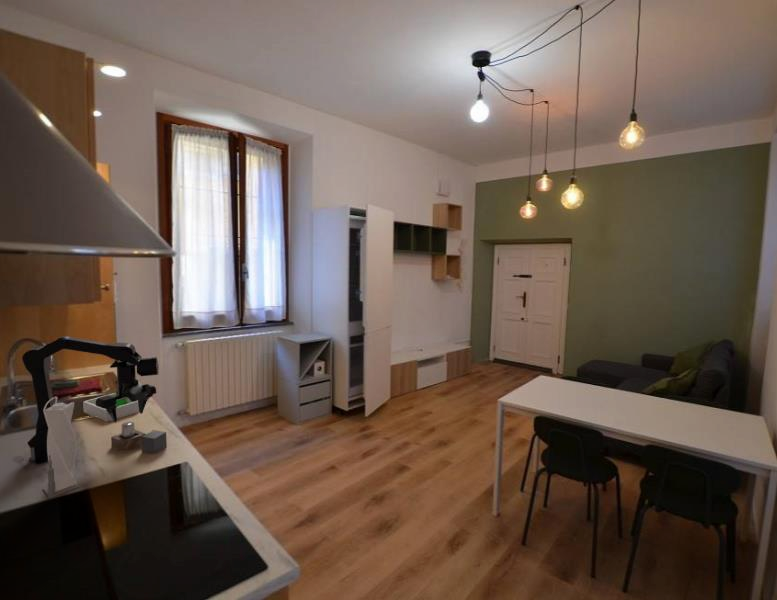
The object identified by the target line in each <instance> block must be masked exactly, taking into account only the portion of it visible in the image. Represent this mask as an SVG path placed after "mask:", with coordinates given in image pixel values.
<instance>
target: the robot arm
mask: <svg viewBox="0 0 777 600" xmlns="http://www.w3.org/2000/svg"><path fill="white" fill-rule="evenodd" d="M62 350H69V351H76V352H83V353H88V354H96V355H101V356H105V357H108V358H110V359H111V360H114V362H112V363H111V365H110V366H109V368H111V369H112V368H115V369H116V380H115V381H114V382H115V384H117V390H116V391H115V393H116V394H118V396H115V397H112V396H109V394H106V395H107V396H105V395H102V396H103V397H102V396H99V397H100V398H98V397H96V398H97V400H96V406H98V407H101V408H103V409H104V408H105V409H106V410H107V412H108V413H109V415H110V416H111V418H112V421H113V423H117V422H118V419H117V416H116V408H117V406H116V405H115V404H116V401H120V400H123V399H127V398H129V399H130V401H132V402H135V401H137V400H138V406H139V412H138V413H139V414H141V415H142V414H143V412H144V410H145V407H146V405H147V402H148V400H149V399H150V398H152V397H153V396H154V395H155V394H157V387H156V386H154V385H151V384H149V383H145V384H142V385H140V384H139V379H137V376H136V374H137V375H138V376H140V377H150V376H158V375H159V369H160V367H159V361H158V357H157V356H153V357H147V358H145V357H142V356H141V355H140V353H138V352H137V351H136V347H135V346H134V344H133V343H130V342H129V343H127V342H110V343H109V342H102V341H96V340H89V339H84V338H83V339H82V338H78V337H71V336H69V335H63V336H60V337H59V338H57V339H55V340H53V341H51V342H49V343H47V344H45V345H37V346H35V347H33V348H31V349H29V350H27V351H26V352H25V353H23V355H22V357H21V360H22V363H23V364H24V367H25V369H26V371H28V373H29V374H30V376H31V380H32V385H33V391H34V397H35V402H36V407H37V420H36V424H35V426H36V427H35V433H34V435H33V436H32V437H31V438H30V439H29V441H28V442H27V445H28V447H29V448H30V456H29V458H28V461H30V462H32V463H34V464H36V465H39V464H42V463H45V462H48V454H47V435H48V425H47V422H46V419H45V415H44V412H43V409H44V407H45V405H46V403H47V402H48V401H49V400H50V399H52V398H53V397H54V396H53V390H52V385H51V384H52V383H51V378H50V373H49V372H50V371H49V370H50V366H51V360H52V356H53V355H54V354H56V353H58V352H60V351H62ZM54 401H55V400H54V399H53V400H51V401H50V402H49V403H48V404H47V406H46V409H48V408H50V407H51V406H53V405H54V404H55V402H54ZM46 409H45V410H46Z"/></svg>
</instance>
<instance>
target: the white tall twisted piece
mask: <svg viewBox="0 0 777 600" xmlns="http://www.w3.org/2000/svg"><path fill="white" fill-rule="evenodd" d="M54 399H55V400H54ZM51 400H54V401H55V402H54V405H53V406H51V407H50V408H48V409H46V406H47V404H48V403H49V402H50V401H51ZM45 409H46V410H45ZM74 409H75V402H74V401H71V402H69V403H65V402H58V396H53V398H52V399H50V400H49V401H48V402H47V403H46V405H45V407H44V409H43V412H44V415H45V419H46V422H47V425H48V435H47V454H48V461H47V462H48V469H47V470H46V471H47V480H48V482H47V486H45V487H43V491H44V493H46V496H47V497H48V498H49V499H50V498H53V497H56V496H59V495H62V494H64V492H65V493H67V491H68V492H70V491H72V490H76V489H78V488H80V487H79V484H77V481H76V480H75V479H74V476H73V475H74V472H75V465H76V458H77V441H76V435H75V431H74V428H73V426H72V424H71V422H72V418H73V413H74Z"/></svg>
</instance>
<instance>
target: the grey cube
mask: <svg viewBox="0 0 777 600" xmlns="http://www.w3.org/2000/svg"><path fill="white" fill-rule="evenodd" d="M141 441H142V445H141V453H145V454H152V455H156V454H157V453H159V452H161V451H162V450H164V449H166V448H167V445H168V444H167V441H168V440H167V431H161V430H152V431H150V432H147V433H145V435H144V436H142V437H141Z"/></svg>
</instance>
